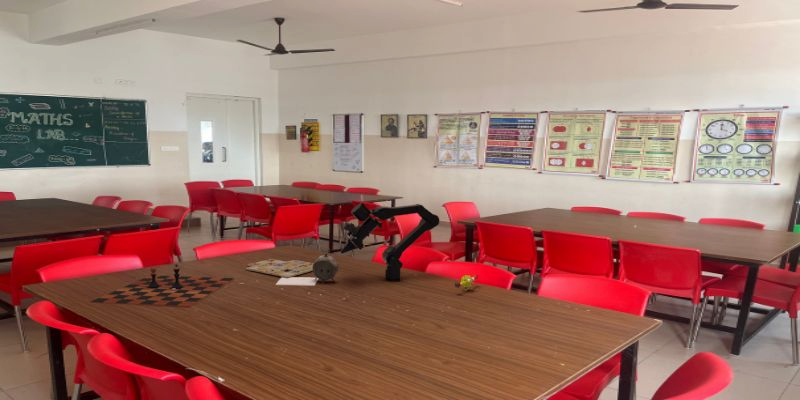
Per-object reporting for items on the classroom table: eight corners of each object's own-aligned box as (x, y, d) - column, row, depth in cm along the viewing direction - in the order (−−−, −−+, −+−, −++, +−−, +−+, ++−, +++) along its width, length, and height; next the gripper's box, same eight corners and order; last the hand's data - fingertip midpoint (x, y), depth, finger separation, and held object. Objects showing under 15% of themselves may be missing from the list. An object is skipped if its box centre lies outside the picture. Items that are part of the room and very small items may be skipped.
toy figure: (462, 296, 212) (462, 280, 211) (450, 294, 215) (451, 278, 214) (482, 287, 226) (483, 272, 225) (471, 285, 229) (472, 270, 228)
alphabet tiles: (327, 267, 256) (327, 264, 255) (287, 278, 232) (287, 275, 232) (279, 258, 273) (279, 256, 273) (237, 268, 250) (237, 265, 250)
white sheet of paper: (318, 278, 235) (318, 277, 235) (314, 285, 223) (314, 284, 223) (281, 277, 235) (281, 277, 235) (275, 285, 223) (275, 284, 223)
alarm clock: (337, 281, 231) (339, 246, 228) (335, 285, 226) (336, 250, 223) (314, 278, 232) (315, 244, 229) (310, 282, 227) (312, 247, 224)
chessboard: (234, 280, 231) (233, 256, 229) (189, 308, 191) (188, 280, 190) (150, 277, 234) (149, 253, 233) (89, 304, 195) (88, 276, 194)
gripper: (351, 212, 236) (326, 236, 235) (356, 218, 218) (330, 244, 217) (367, 229, 239) (343, 253, 237) (374, 236, 221) (348, 262, 219)
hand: (341, 252), depth 228 cm, fingers closed
